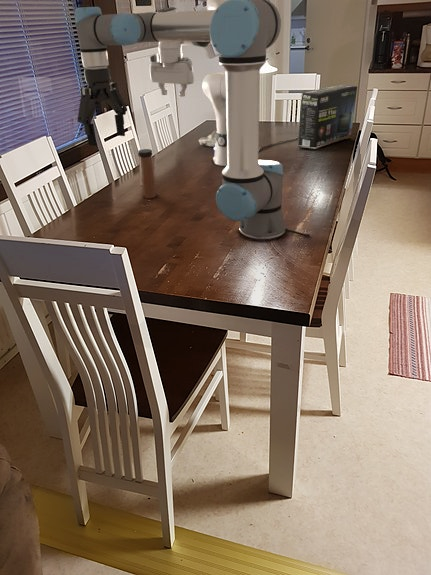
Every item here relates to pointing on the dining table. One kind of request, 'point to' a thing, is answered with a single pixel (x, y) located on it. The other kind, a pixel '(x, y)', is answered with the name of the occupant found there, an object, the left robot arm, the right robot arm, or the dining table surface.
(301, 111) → the router box
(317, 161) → the dining table surface
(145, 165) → the jar
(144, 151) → the lid
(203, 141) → the fossil
